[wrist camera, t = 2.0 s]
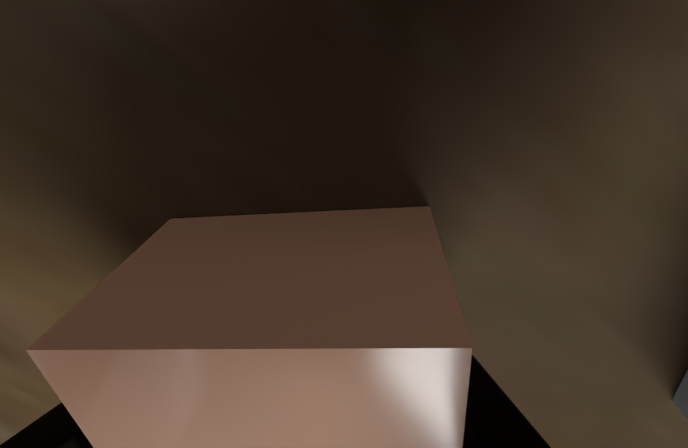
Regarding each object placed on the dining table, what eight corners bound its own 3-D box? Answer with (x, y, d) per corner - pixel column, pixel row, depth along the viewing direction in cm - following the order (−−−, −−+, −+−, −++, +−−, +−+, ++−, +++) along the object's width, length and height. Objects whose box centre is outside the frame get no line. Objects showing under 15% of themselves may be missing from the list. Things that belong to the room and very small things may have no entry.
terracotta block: (429, 206, 8) (472, 347, 4) (425, 390, 11) (450, 568, 7) (170, 218, 9) (26, 350, 5) (230, 389, 11) (164, 550, 8)
